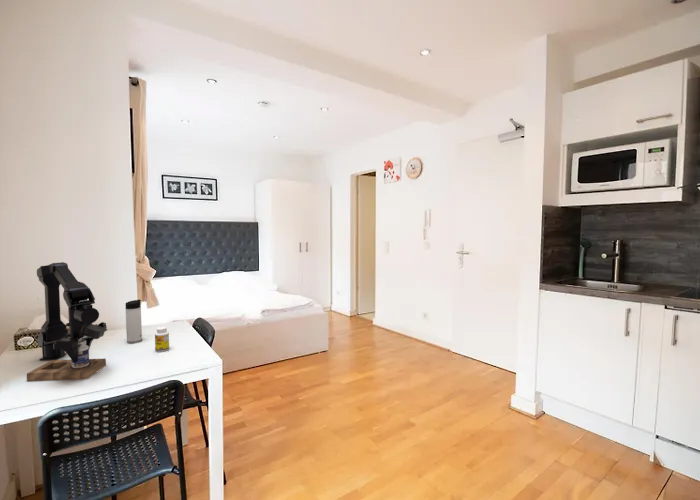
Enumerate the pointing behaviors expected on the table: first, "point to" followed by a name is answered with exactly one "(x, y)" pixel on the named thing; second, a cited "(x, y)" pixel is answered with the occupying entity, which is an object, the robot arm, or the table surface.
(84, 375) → the socket block
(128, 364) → the table surface
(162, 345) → the supplement bottle
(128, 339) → the travel mug
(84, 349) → the pill bottle
